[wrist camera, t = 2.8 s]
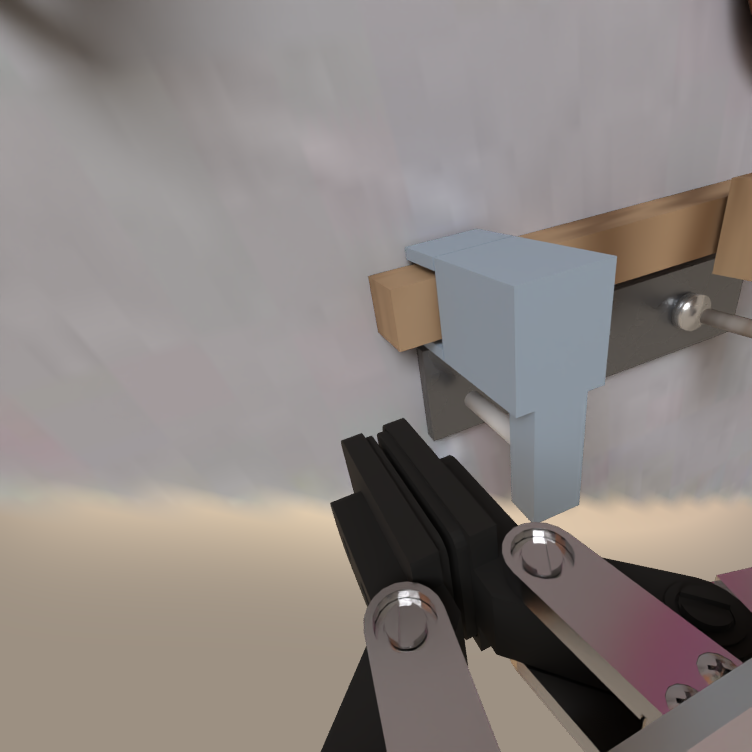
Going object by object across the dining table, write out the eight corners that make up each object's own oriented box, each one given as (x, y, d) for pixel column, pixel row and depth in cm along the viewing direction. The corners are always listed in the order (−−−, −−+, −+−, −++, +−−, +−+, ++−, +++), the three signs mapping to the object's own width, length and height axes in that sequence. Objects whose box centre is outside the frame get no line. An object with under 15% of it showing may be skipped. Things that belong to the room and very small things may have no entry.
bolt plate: (738, 245, 29) (764, 249, 28) (719, 327, 32) (742, 334, 30) (416, 346, 24) (429, 357, 22) (428, 434, 26) (440, 448, 25)
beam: (734, 161, 26) (957, 155, 18) (700, 328, 31) (862, 378, 23) (364, 256, 21) (457, 303, 13) (397, 438, 26) (477, 549, 18)
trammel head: (476, 228, 22) (617, 255, 14) (487, 409, 27) (593, 498, 19) (404, 247, 21) (514, 286, 13) (429, 430, 26) (518, 531, 18)
